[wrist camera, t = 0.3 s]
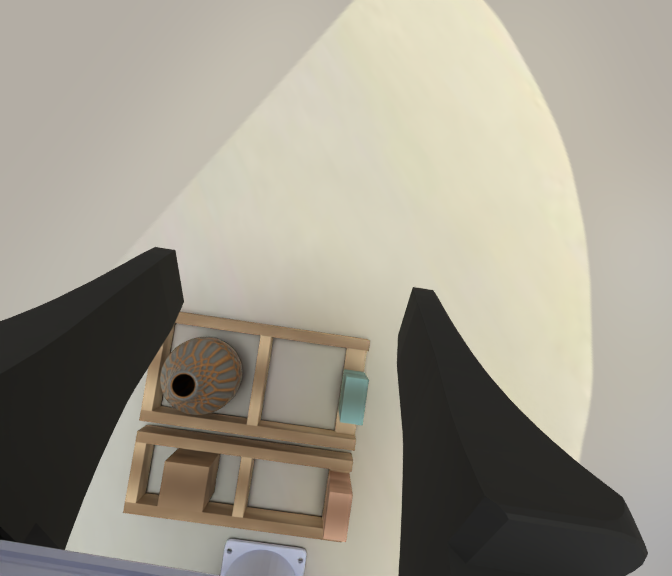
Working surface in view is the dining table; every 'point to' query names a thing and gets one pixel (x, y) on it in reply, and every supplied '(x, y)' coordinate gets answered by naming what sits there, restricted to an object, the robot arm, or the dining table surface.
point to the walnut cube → (188, 480)
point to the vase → (201, 375)
